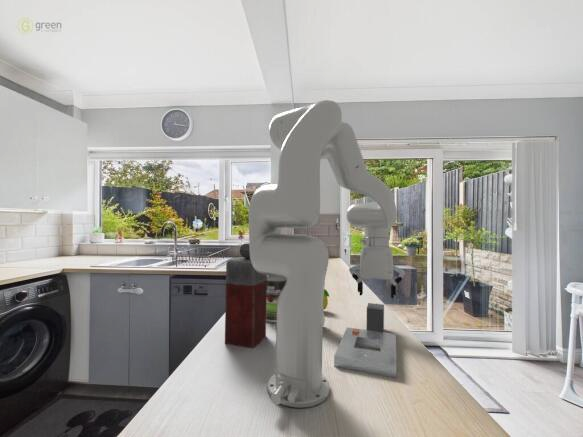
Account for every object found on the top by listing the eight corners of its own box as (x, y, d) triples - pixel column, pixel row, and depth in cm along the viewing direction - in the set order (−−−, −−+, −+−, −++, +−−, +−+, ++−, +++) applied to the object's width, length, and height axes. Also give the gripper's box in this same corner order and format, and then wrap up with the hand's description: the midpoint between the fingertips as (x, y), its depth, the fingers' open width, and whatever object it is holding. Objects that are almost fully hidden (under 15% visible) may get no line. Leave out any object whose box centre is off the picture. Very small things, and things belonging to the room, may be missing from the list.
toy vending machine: (269, 333, 87) (270, 242, 88) (253, 348, 77) (255, 244, 77) (243, 329, 90) (244, 241, 91) (224, 343, 80) (226, 243, 80)
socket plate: (396, 377, 63) (396, 363, 63) (334, 366, 68) (334, 353, 68) (395, 342, 82) (395, 331, 82) (346, 335, 87) (346, 325, 87)
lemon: (329, 314, 106) (329, 287, 107) (313, 314, 107) (313, 287, 107) (327, 309, 113) (328, 284, 113) (313, 308, 113) (313, 283, 114)
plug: (383, 336, 87) (383, 309, 87) (366, 333, 89) (366, 307, 89) (384, 326, 95) (384, 302, 96) (368, 324, 97) (369, 300, 97)
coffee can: (284, 323, 96) (285, 282, 96) (255, 320, 99) (256, 280, 99) (291, 314, 106) (292, 276, 106) (265, 311, 109) (266, 274, 109)
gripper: (347, 242, 91) (347, 296, 91) (406, 244, 85) (405, 301, 85) (350, 241, 98) (350, 290, 98) (405, 242, 92) (404, 295, 92)
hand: (376, 295), depth 91 cm, fingers open, 9 cm apart
